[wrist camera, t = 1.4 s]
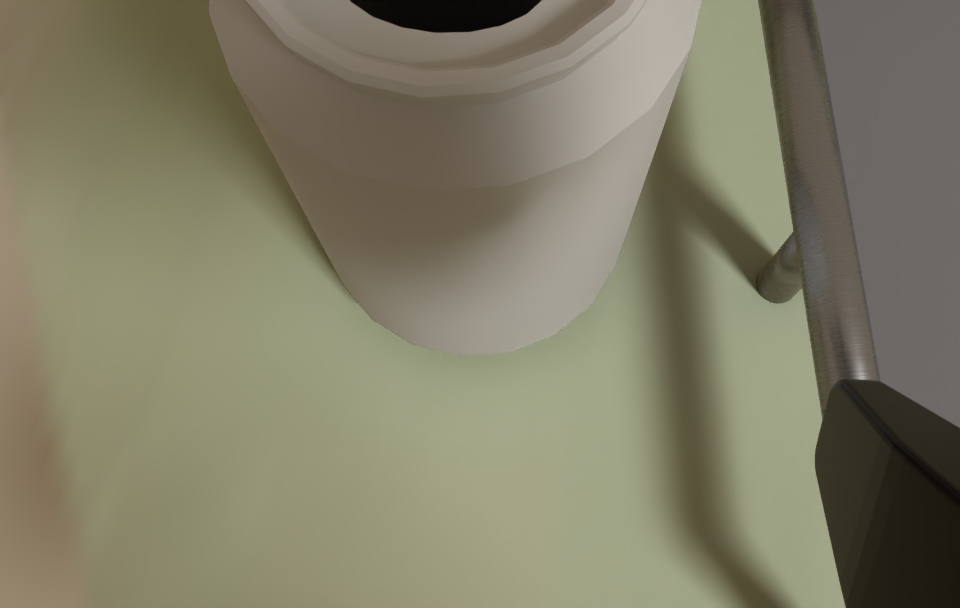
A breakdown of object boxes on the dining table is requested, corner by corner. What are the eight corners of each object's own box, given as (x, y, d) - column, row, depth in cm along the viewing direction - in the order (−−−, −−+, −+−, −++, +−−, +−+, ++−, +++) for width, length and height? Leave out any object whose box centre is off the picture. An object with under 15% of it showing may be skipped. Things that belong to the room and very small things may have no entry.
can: (311, 351, 22) (110, 107, 11) (353, 87, 25) (222, -345, 13) (612, 378, 22) (729, 156, 11) (627, 107, 24) (738, -321, 13)
